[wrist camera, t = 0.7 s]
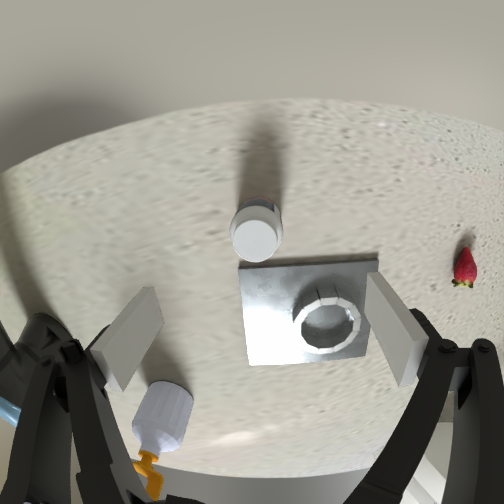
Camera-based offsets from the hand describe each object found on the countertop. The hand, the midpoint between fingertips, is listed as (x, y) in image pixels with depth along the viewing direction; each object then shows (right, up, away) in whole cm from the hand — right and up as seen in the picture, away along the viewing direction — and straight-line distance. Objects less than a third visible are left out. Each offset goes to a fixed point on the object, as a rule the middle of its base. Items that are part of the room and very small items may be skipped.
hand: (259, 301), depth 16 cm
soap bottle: (-16, -24, +29) cm, 41 cm away
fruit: (+31, +1, +16) cm, 35 cm away
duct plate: (+8, -6, +20) cm, 23 cm away
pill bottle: (0, +7, +17) cm, 18 cm away
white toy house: (+43, -47, +33) cm, 72 cm away
